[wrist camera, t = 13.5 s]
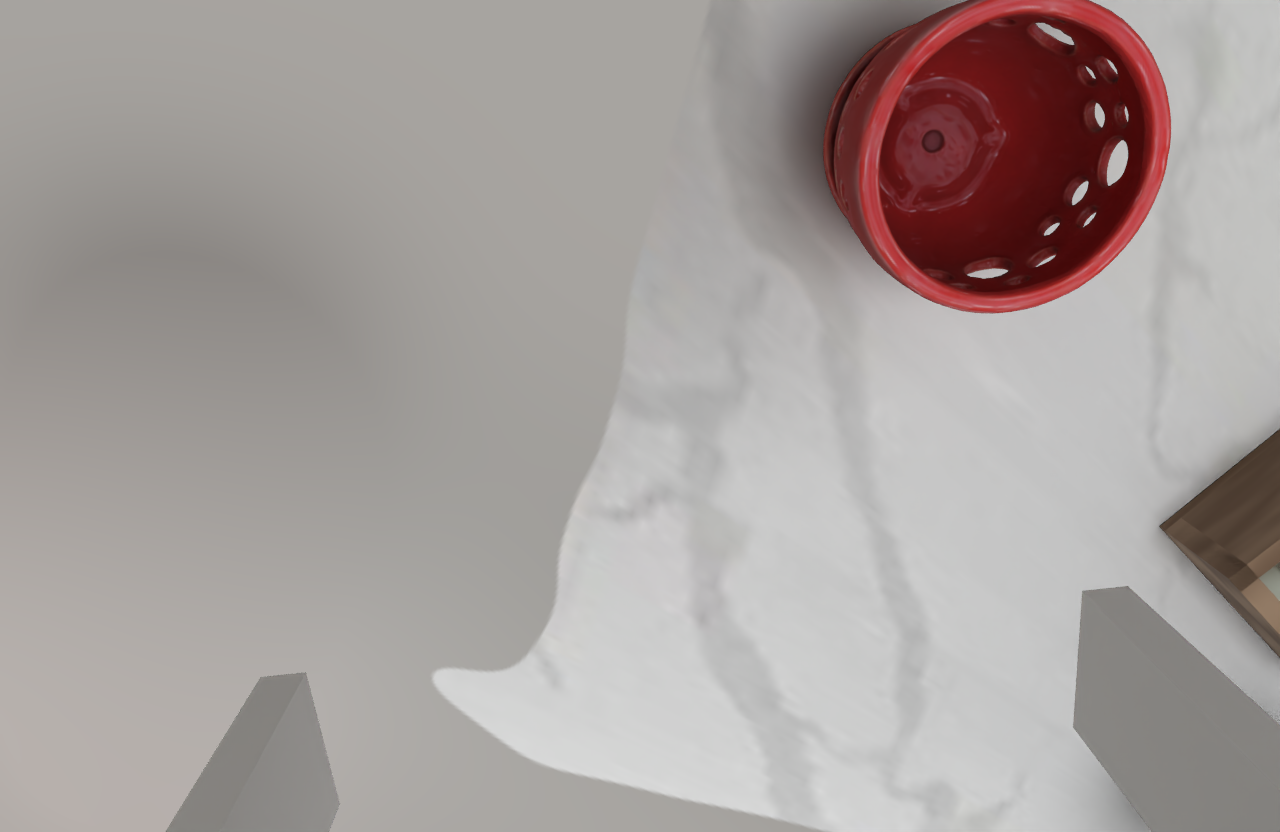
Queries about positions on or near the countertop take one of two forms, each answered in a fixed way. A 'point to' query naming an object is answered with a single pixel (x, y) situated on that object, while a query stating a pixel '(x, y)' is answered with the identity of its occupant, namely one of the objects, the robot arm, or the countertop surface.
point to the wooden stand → (1239, 537)
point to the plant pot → (998, 149)
